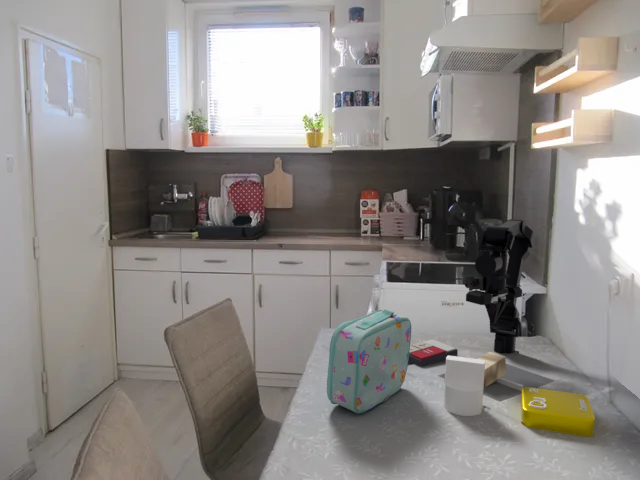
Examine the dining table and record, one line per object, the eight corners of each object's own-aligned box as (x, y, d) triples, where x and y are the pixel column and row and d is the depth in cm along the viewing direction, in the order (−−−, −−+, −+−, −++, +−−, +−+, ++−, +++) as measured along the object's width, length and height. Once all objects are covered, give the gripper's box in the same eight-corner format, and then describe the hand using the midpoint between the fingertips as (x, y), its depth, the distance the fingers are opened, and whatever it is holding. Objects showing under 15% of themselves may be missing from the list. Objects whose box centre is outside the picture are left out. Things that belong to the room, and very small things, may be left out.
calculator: (395, 347, 168) (432, 337, 176) (395, 361, 168) (431, 350, 176) (421, 358, 159) (458, 347, 167) (421, 372, 159) (458, 360, 167)
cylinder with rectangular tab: (483, 403, 137) (486, 356, 136) (480, 418, 129) (484, 368, 127) (445, 397, 140) (448, 351, 139) (441, 412, 132) (443, 363, 130)
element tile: (595, 440, 121) (596, 419, 120) (521, 428, 125) (522, 408, 125) (586, 411, 135) (587, 392, 134) (520, 402, 139) (521, 383, 139)
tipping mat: (492, 361, 167) (492, 355, 166) (554, 383, 151) (555, 376, 150) (437, 378, 153) (438, 371, 152) (499, 404, 137) (500, 396, 136)
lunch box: (378, 376, 153) (380, 300, 150) (412, 385, 147) (415, 306, 144) (321, 410, 132) (323, 321, 129) (358, 422, 126) (361, 330, 123)
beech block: (489, 351, 153) (468, 364, 148) (505, 356, 149) (483, 370, 144) (490, 367, 154) (469, 381, 149) (506, 373, 150) (485, 387, 145)
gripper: (492, 262, 171) (489, 312, 173) (451, 268, 160) (449, 321, 162) (524, 268, 162) (521, 320, 164) (484, 275, 151) (481, 331, 153)
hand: (492, 323), depth 161 cm, fingers closed
